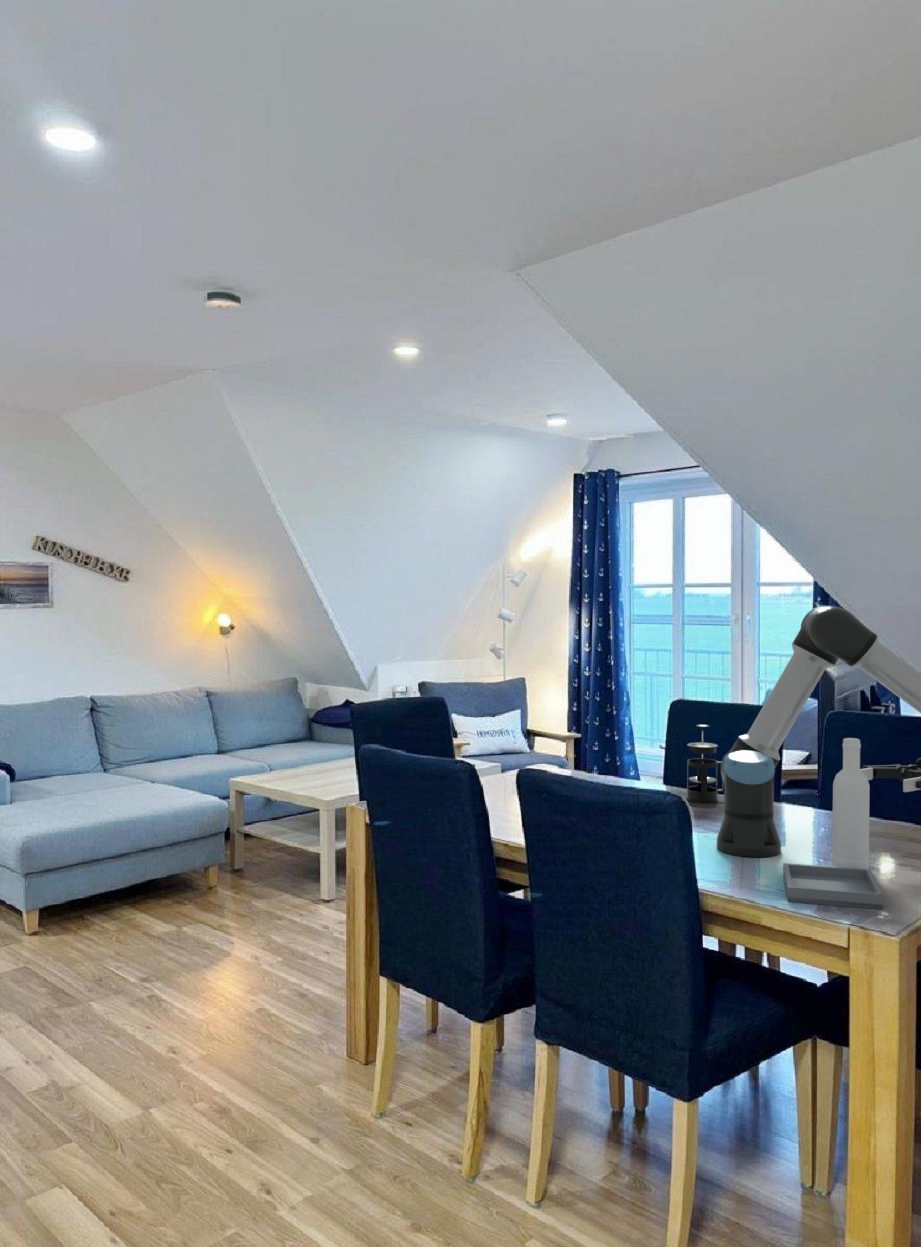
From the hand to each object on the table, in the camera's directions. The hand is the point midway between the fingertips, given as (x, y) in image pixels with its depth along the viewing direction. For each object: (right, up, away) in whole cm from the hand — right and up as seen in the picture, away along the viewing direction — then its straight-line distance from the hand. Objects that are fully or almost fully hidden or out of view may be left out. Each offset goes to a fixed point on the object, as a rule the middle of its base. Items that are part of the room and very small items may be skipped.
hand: (878, 781), depth 220 cm
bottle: (-8, -20, -3) cm, 22 cm away
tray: (-19, -20, -19) cm, 34 cm away
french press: (-23, -17, +69) cm, 75 cm away
